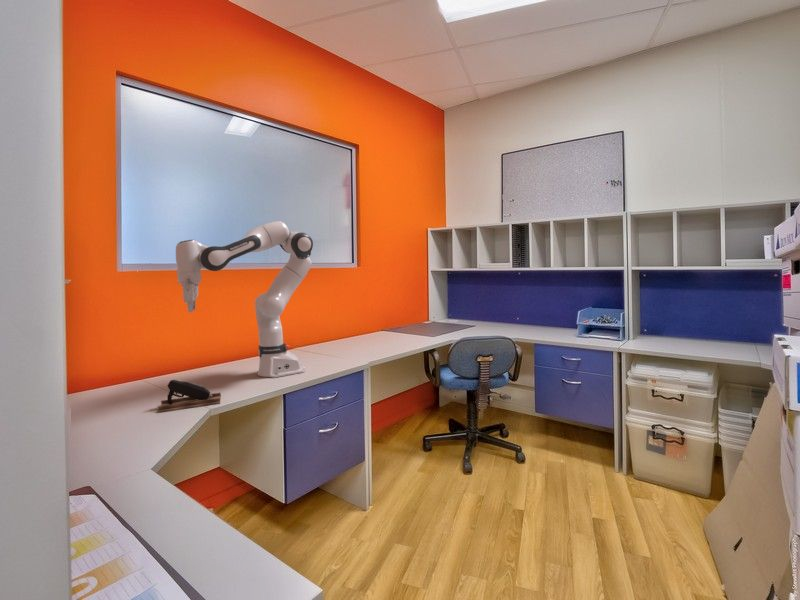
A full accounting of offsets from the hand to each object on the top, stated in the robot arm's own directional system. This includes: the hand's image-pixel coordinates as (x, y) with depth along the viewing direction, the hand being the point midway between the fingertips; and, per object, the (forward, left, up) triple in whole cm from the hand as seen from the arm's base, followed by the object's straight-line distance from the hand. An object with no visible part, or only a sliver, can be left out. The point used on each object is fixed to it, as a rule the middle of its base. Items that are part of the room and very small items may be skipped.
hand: (192, 311), depth 168 cm
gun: (+1, +19, -34) cm, 39 cm away
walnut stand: (+1, +20, -34) cm, 39 cm away
